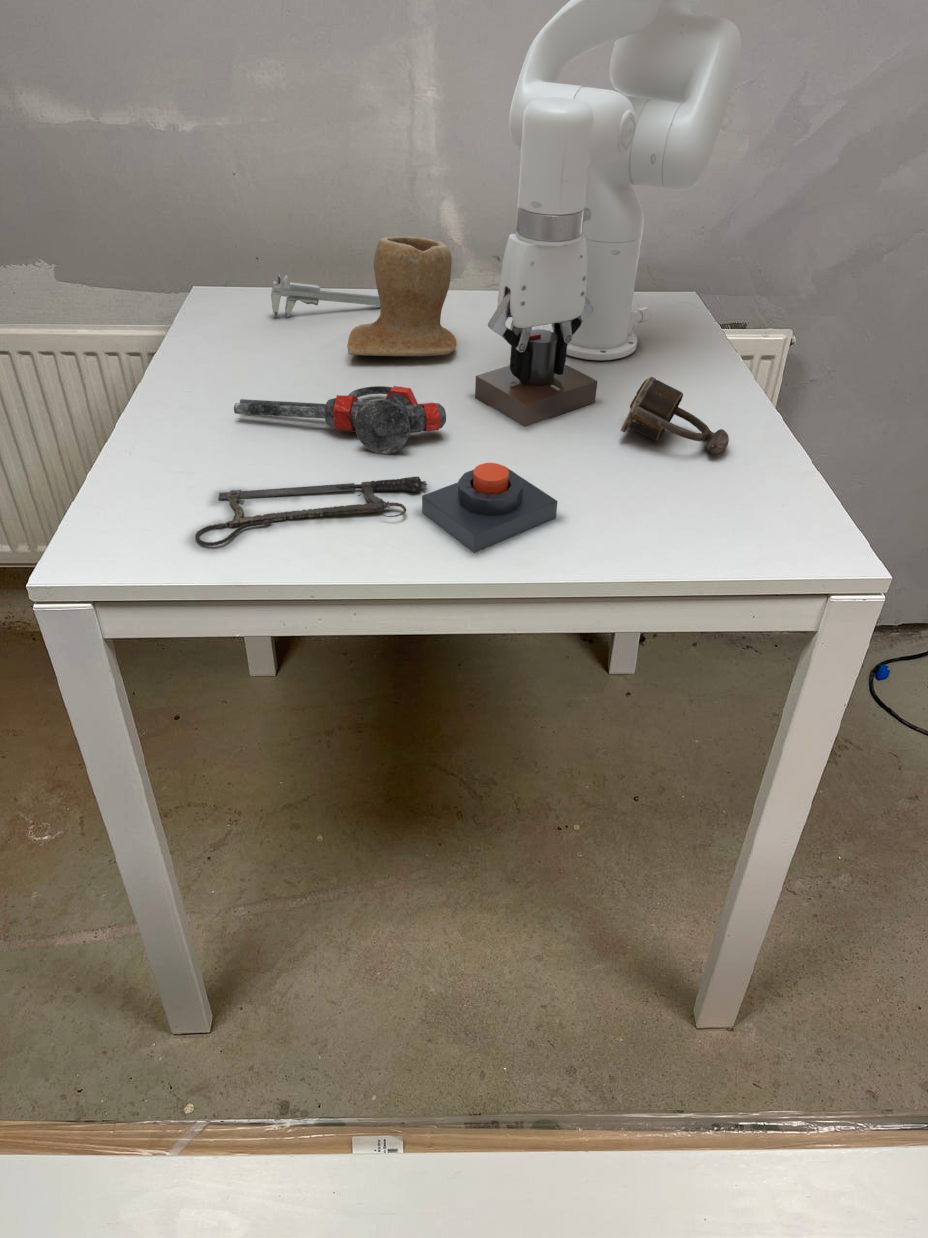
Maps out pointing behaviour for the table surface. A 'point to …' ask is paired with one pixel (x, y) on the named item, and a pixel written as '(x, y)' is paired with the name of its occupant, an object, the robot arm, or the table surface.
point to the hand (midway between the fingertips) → (537, 372)
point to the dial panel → (535, 394)
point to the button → (490, 478)
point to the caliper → (314, 295)
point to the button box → (488, 511)
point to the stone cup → (408, 300)
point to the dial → (541, 356)
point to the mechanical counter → (667, 416)
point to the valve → (362, 415)
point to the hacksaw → (368, 487)
